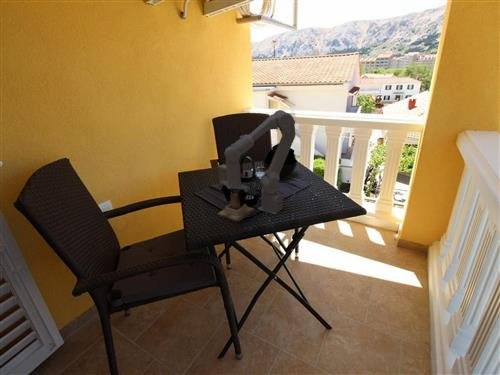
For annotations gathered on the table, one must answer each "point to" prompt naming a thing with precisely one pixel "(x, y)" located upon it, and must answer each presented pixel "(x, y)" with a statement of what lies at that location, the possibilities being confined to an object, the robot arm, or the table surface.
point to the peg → (235, 201)
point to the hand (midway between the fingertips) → (235, 203)
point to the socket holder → (236, 212)
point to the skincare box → (222, 173)
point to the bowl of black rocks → (288, 164)
